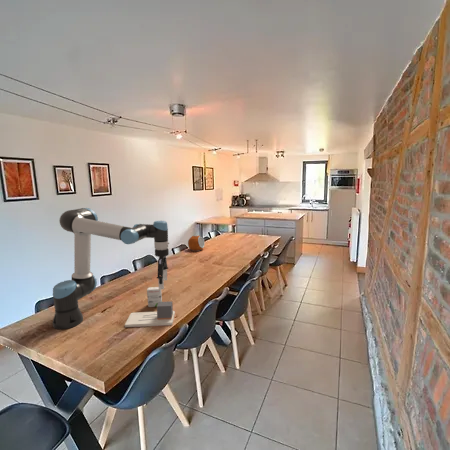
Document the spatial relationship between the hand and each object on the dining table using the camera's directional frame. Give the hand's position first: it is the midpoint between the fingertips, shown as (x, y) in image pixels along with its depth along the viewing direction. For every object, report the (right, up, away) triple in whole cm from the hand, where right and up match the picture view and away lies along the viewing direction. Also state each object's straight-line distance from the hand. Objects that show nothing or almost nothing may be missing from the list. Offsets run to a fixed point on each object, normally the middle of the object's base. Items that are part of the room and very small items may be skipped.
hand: (163, 284), depth 158 cm
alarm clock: (+2, +5, +163) cm, 163 cm away
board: (-8, -21, +3) cm, 23 cm away
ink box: (-10, -18, +22) cm, 30 cm away
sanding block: (0, -20, +3) cm, 20 cm away
